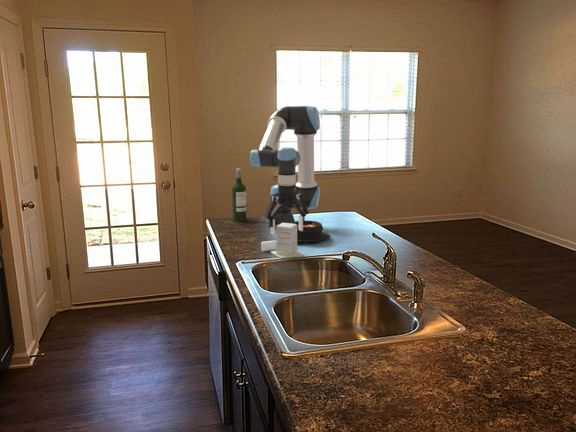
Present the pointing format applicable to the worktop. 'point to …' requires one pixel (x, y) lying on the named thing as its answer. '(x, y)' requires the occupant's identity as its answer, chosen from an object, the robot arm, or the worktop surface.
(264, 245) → the acrylic wall
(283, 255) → the sage mat
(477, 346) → the worktop surface
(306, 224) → the casserole
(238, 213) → the wine bottle
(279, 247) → the supplement box
